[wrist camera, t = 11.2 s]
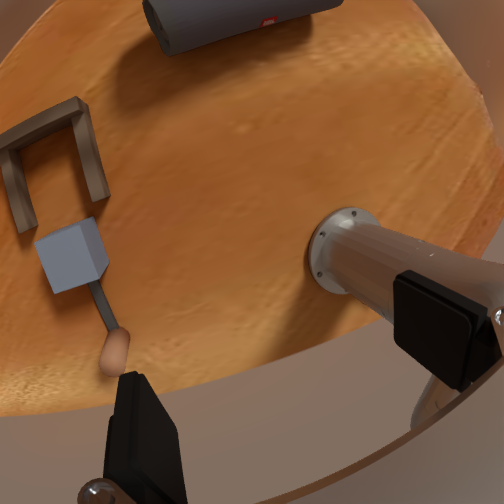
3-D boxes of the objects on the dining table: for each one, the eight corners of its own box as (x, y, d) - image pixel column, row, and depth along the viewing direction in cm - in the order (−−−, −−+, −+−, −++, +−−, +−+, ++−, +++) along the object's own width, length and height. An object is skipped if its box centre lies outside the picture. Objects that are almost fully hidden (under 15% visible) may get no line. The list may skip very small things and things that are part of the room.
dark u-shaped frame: (110, 195, 32) (101, 199, 28) (29, 228, 30) (11, 237, 26) (88, 105, 29) (76, 96, 24) (7, 144, 27) (-12, 142, 22)
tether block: (143, 340, 38) (140, 371, 32) (105, 351, 37) (97, 381, 30) (93, 216, 33) (76, 226, 26) (53, 231, 31) (30, 245, 25)
